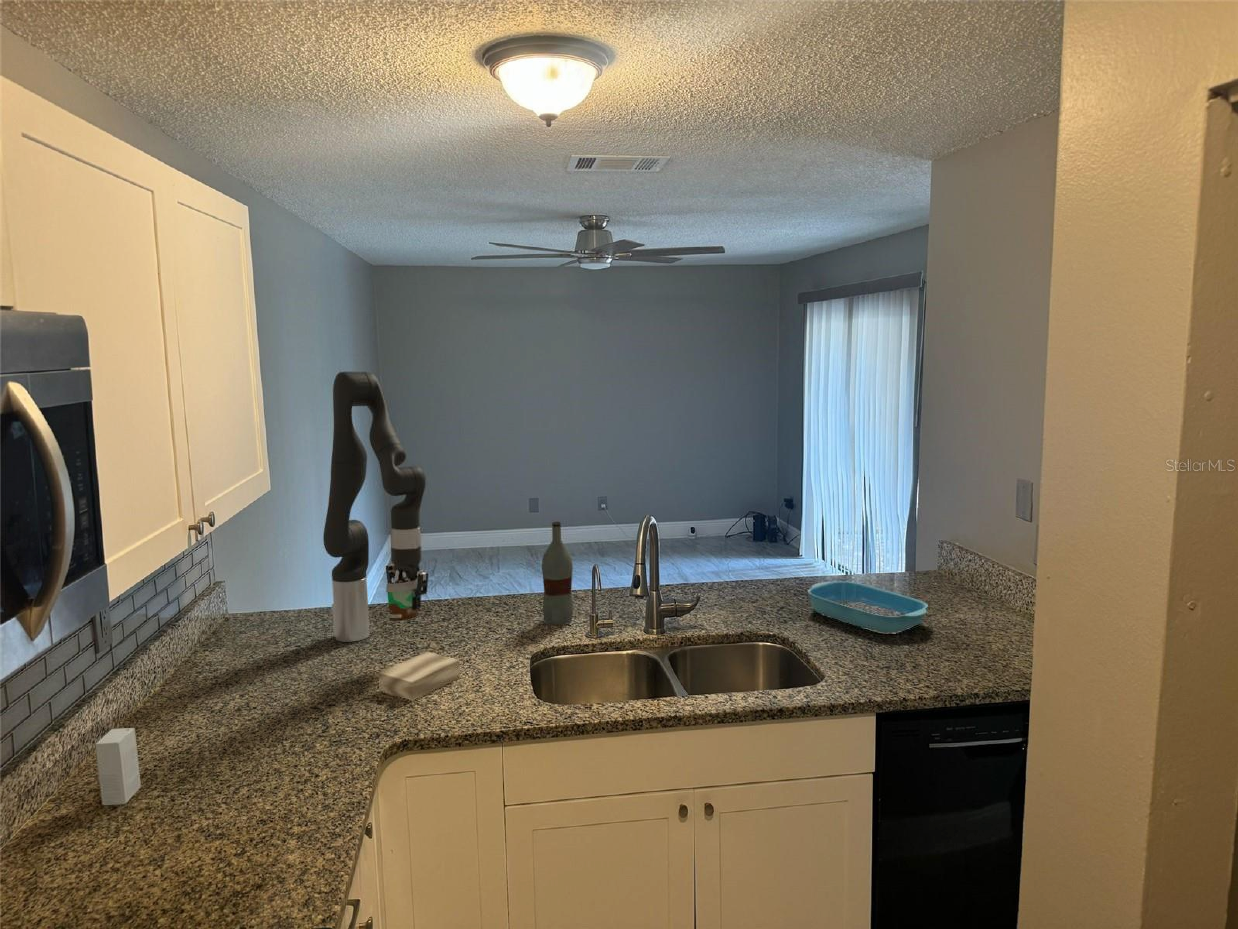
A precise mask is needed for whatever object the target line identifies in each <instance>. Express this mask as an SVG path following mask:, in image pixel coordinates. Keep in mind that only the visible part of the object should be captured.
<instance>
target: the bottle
mask: <svg viewBox="0 0 1238 929" xmlns="http://www.w3.org/2000/svg"><path fill="white" fill-rule="evenodd" d="M551 524H552V526H551V528H552V530H551V531H552V533H551V535H552V536H551V537H552V539H551V542H550V544H549V545H548V547H547V549H546V550H545V552H544V553H543V556H542V562H541V574H542V580H543V598H542V614H543V620H544V623H545V624H546V623H547V624H546V625H549V624H550V625H549V626H554V625H559V626H564V625H563V624H566V623H569V624H571V623H572V620H573V616H574V602H573V596H572V595H573V594H572V586H573V585H572V584H573V570H574V565H573V559H572V555H571V552H570V551H569V549H568V548H567V547H566V545H565V544H564V542H563V541H562V522H560V521H552V523H551ZM566 625H567V624H566Z"/></svg>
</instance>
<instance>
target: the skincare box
mask: <svg viewBox="0 0 1238 929" xmlns="http://www.w3.org/2000/svg"><path fill="white" fill-rule="evenodd" d="M135 729H136V728H135V727H130V728H129V727H128V728H112V729H110V730H109V731H108V732H107V733H106V734H105V735H104V736H103V737H102V738H100V739H99V740H98V741H97V742H96V743H95V746H94V747H95V755H96V762H97V763H96V764H97V770H98V779H99V787H100V788H99V789H100V796H101V804H102V806H117V805H119V806H120V805H126V804H127V803H128V802H129V801H130V799H132V797H133V796H134V795H135V794H136V793H137V792H138V791H139V789H140V788H142V784H141V776H140V765H139V756H138V747H137V739H136V730H135Z"/></svg>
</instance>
